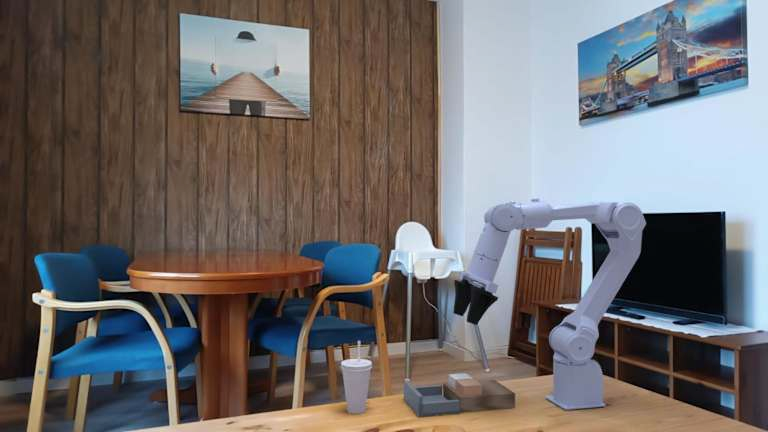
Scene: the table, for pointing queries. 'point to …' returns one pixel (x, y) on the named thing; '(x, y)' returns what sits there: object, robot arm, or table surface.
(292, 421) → the table surface
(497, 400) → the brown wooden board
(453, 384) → the tile cream
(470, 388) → the tile terracotta
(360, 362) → the smoothie
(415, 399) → the tray
